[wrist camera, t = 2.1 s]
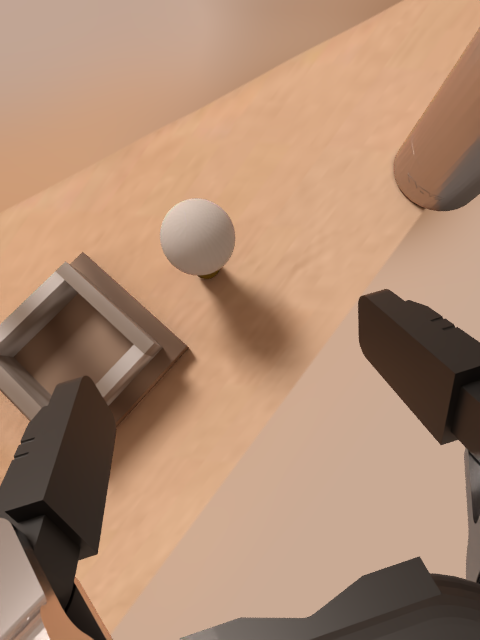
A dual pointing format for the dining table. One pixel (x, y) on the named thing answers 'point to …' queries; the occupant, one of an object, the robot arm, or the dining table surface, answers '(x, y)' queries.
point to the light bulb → (197, 237)
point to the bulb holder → (83, 341)
